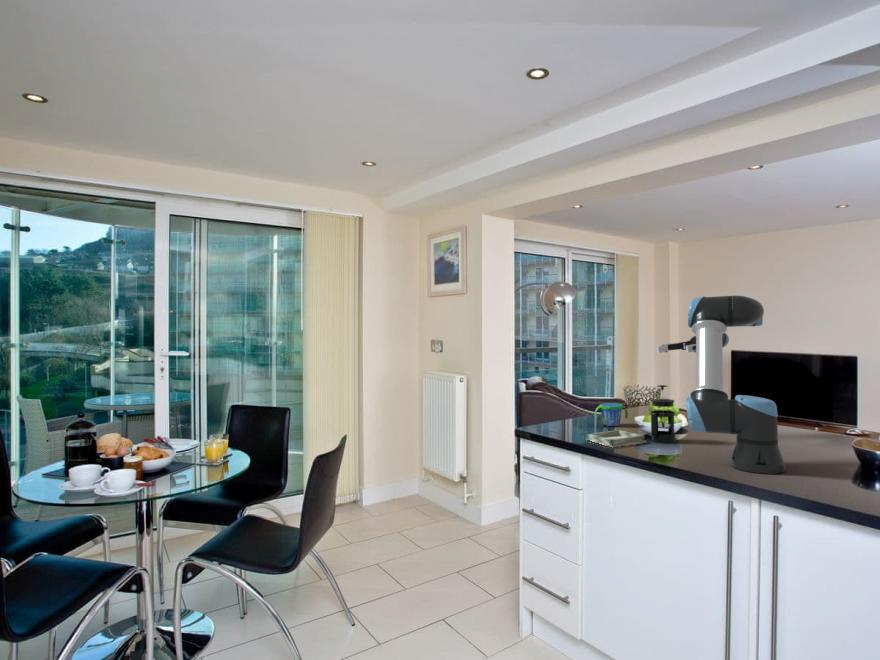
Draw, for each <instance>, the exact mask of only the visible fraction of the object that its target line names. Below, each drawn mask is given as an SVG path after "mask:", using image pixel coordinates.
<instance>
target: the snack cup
mask: <svg viewBox="0 0 880 660" xmlns="http://www.w3.org/2000/svg"><path fill="white" fill-rule="evenodd" d="M623 408H624V414H625V415H624V416H625V417H624V418H625V419H628V416H629V412H628V409H627V407H626V406H624V405H623V404H621V403H614V402H612V403H611V402H610V403H609V402H608V403H605V402H604V403H600V404H599V405H598V406H597V407H596V408H595V411H594V418H595V420H598V414H597V413H598V410H599V411H600V412H601V413H600V414H601V418H602V423H603V426H604V425H607V426H606V427H608V426H616V427H619V426H620V425H621V417H622V412H623Z"/></svg>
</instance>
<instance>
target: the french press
mask: <svg viewBox="0 0 880 660" xmlns="http://www.w3.org/2000/svg"><path fill="white" fill-rule="evenodd" d="M656 387H658V388H661V389H660V391H661V398H651V399H650V401H651V402H652V403H651V405H652V406H654V407H661V408H662V409H661V410H660V409H658V410H657V409H656V410H651V412H650V413H651V414H650V428H651V431H650V432H651V433H650V434H651V442H654V443H658V444H659V443H660V444H674V443H676V442H677V439H676V432H675V420H674V419H675V416H676V412H675V411H672V410H667V409H666V410H664V408H665V407H674V403H675V399H671V398H664V388H666V387H668V385H664V384H658V385H657V386H656ZM659 417H661V418H662V423H659ZM665 418H667V423H665V421H664V419H665ZM659 429H662V430H659ZM663 429H664V430H663ZM665 429H668V430H665Z"/></svg>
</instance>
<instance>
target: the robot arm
mask: <svg viewBox="0 0 880 660" xmlns="http://www.w3.org/2000/svg"><path fill="white" fill-rule="evenodd" d="M688 306H689V307H688V311H687V326H688V327H689V328H691V331H692V332H693V334H695V335H694V336H692V337H691V338H690V339H689V340H687V341H682V342H681V341H680V342H673V343H667V344H662V345H659V346H656V353H657V354H660V353H668V352H669V351H677V350H682V351H686V353H688V354H689V353H692V352H693V353H695V389H693V390H692V391H691V392H690V396H688V397H686V398H685V405H686V412H687V418H688V425H689V428H690V430H691V431H693V432H698V433H704V434H726V435H736V436H735V437H736V444H735V447H734V449H733V452H732V456H731V457H730V458H731V459H730V462H731V463H730V465H731V467H733V468H734V469H736V468H737V470H741V471H743V472H748V473H754V472H755V473H756V474H769V475H770V474H771V475H773V474H781V473H784V472H786V463H785V461H784V458H783V455H782V452H781V450H780V447H779V432H778V431H779V429H778V428H779V427H778V417H779V414H778V407H777V406H778V405H777V404H776V402H775V401H773V400H771V399H768V398H765V397H759V396H755V395H754V396H753V395H747V394H746V395H745V394H744V395H743V394H737V395H735V397H734V399H729V394H728V393H727V392H726V391H725V390H724V370H723V367H724V366H723V363H724V361H723V348H725V347H727V345H728V344H729V341H730V338H729V335H728V334H727V333H726V332H727V330H728V328H733V327H761V326H763V321H764V320H763V318H764V314H765V312H764V306H763V305H762V303H761V302H760V301H758V300H756V299H754V298H751V297H750V296H749V297H748V296H744V295H737V294H736V295H722V296H701V297H700V296H699V297H695V298H692V299H691V300H690V302H689V305H688Z"/></svg>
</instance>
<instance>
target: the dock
mask: <svg viewBox="0 0 880 660" xmlns="http://www.w3.org/2000/svg"><path fill="white" fill-rule="evenodd" d="M585 439H586V440H590V441H592V442H595V443H599V444H602V445H605V446H609V447H612V448H613V447H619V448H622V447H621V446H626V447H630V446H629V445H633V446H637V445H636V444H639V445H644V444H643V443H646V444H647V440H645V435H643V434H638V433H634V432H629V431H625V430H620V429H615V430H609V431H608V430H607V431H600V432H593V433H586V438H584V440H585ZM605 446H604V447H605ZM609 447H608V448H609ZM612 448H611V449H612ZM613 449H614V448H613Z"/></svg>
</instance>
